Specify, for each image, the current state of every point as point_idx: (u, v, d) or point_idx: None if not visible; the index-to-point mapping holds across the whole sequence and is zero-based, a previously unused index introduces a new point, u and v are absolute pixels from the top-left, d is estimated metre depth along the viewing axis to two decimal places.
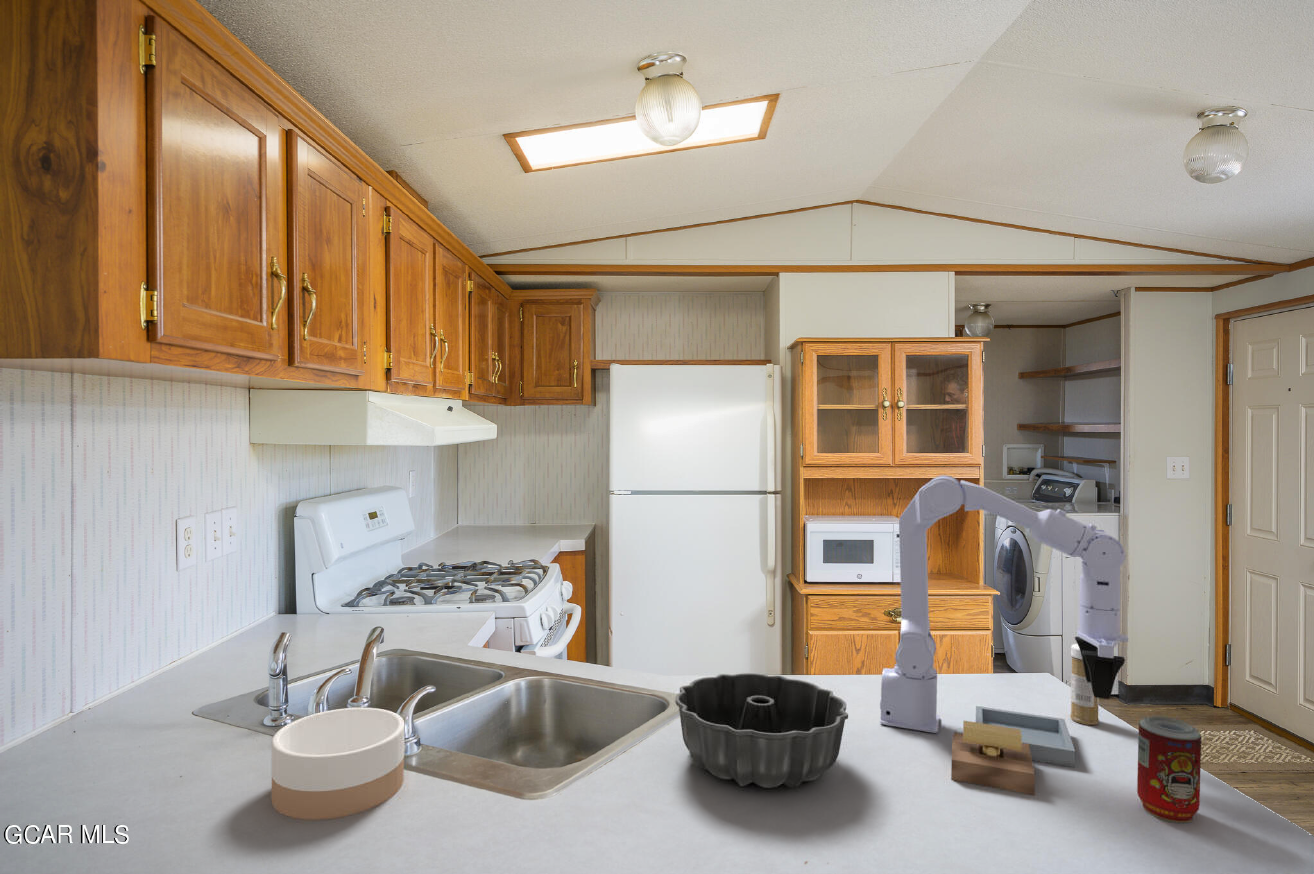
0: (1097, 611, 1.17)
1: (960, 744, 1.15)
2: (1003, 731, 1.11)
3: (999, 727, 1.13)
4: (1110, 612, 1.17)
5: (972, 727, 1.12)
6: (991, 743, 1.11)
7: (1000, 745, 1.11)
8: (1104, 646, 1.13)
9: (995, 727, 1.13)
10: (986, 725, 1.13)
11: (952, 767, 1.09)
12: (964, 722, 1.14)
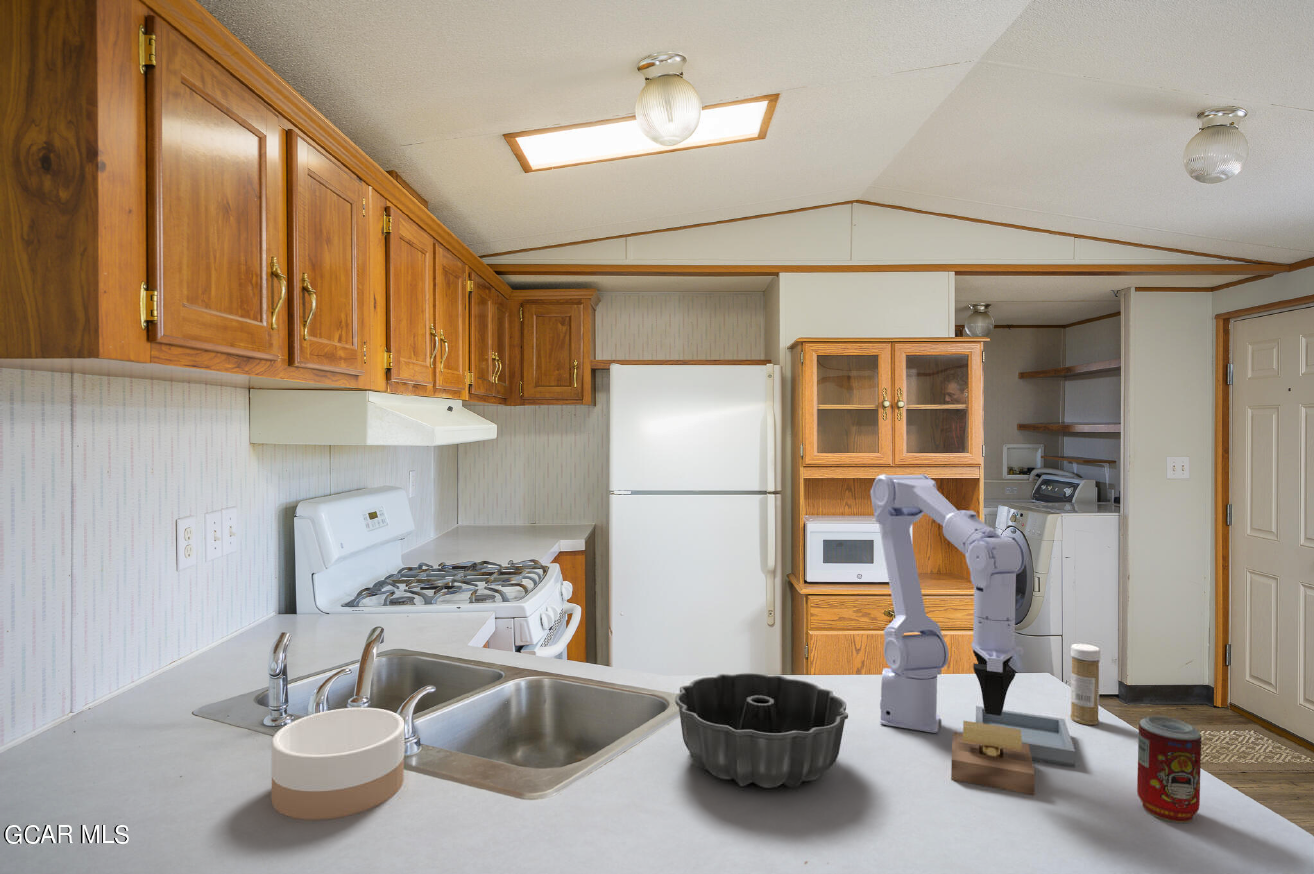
0: (989, 621, 1.10)
1: (960, 744, 1.15)
2: (1003, 731, 1.11)
3: (999, 727, 1.13)
4: (1003, 623, 1.09)
5: (972, 727, 1.12)
6: (991, 743, 1.11)
7: (1000, 745, 1.11)
8: (992, 659, 1.06)
9: (995, 727, 1.13)
10: (986, 725, 1.13)
11: (952, 767, 1.09)
12: (964, 722, 1.14)
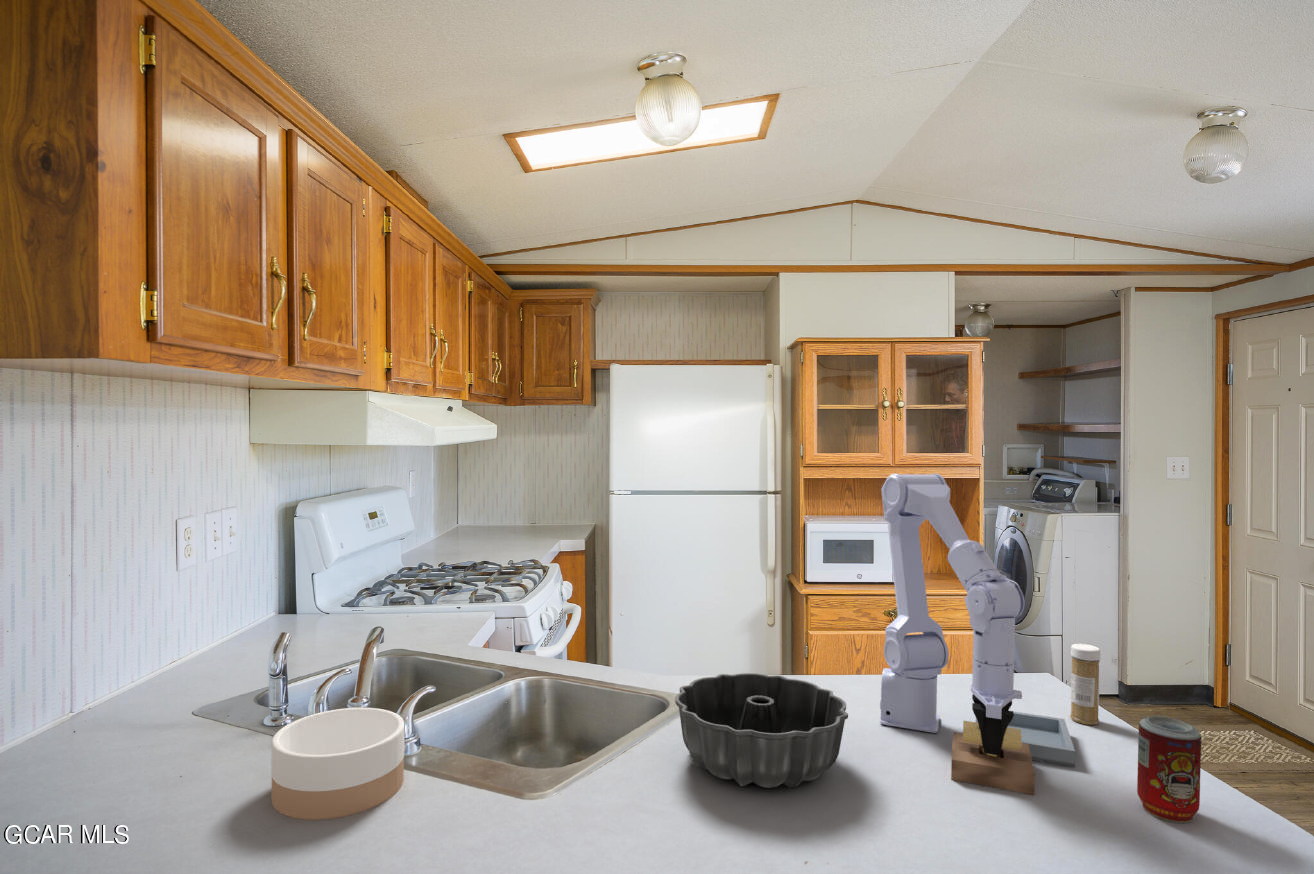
0: (988, 666, 1.10)
1: (960, 744, 1.15)
2: None
3: None
4: (1002, 667, 1.09)
5: (972, 727, 1.12)
6: None
7: None
8: (991, 706, 1.06)
9: None
10: None
11: (952, 767, 1.09)
12: (964, 722, 1.14)
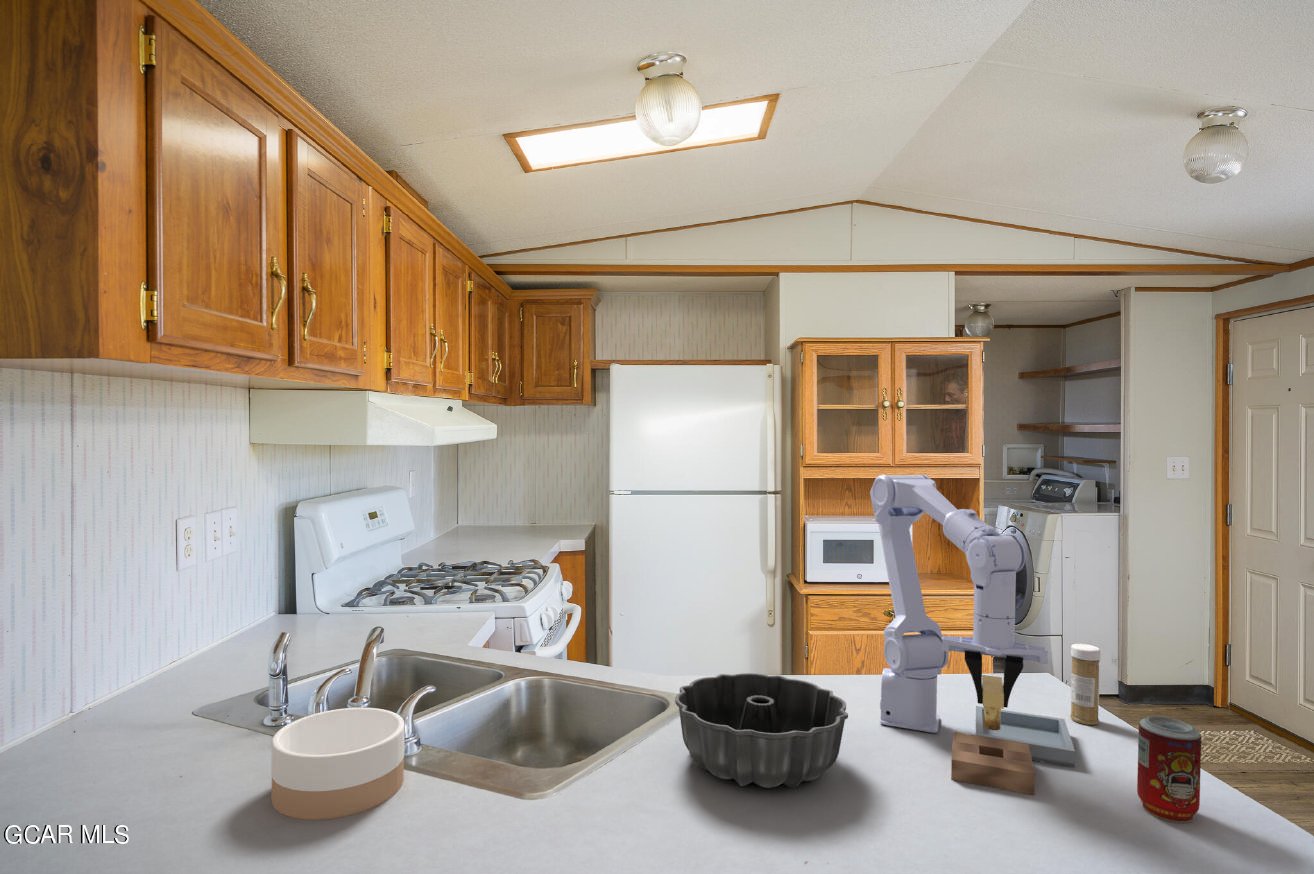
0: (974, 613, 1.14)
1: (960, 744, 1.15)
2: (988, 686, 1.11)
3: (998, 687, 1.11)
4: (975, 616, 1.12)
5: (985, 677, 1.15)
6: None
7: None
8: (942, 638, 1.15)
9: (996, 685, 1.11)
10: (997, 683, 1.12)
11: (952, 767, 1.09)
12: None
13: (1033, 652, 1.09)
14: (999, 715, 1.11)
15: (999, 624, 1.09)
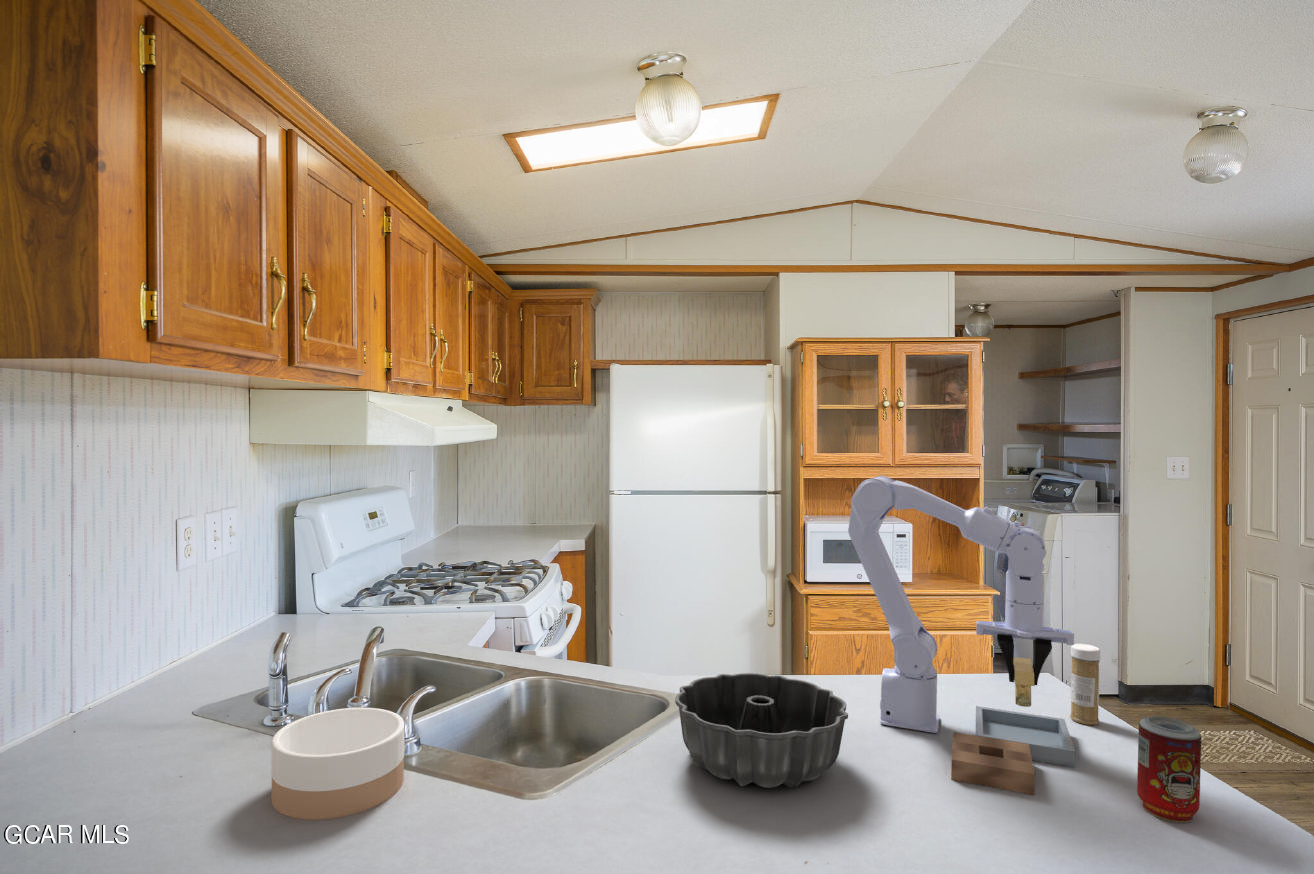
0: None
1: (960, 744, 1.15)
2: (1019, 667, 1.22)
3: (1028, 667, 1.22)
4: (1007, 602, 1.23)
5: (1015, 659, 1.26)
6: None
7: None
8: None
9: (1026, 665, 1.22)
10: (1027, 663, 1.23)
11: (952, 767, 1.09)
12: (1025, 658, 1.26)
13: (1061, 635, 1.20)
14: (1030, 693, 1.22)
15: (1030, 609, 1.20)
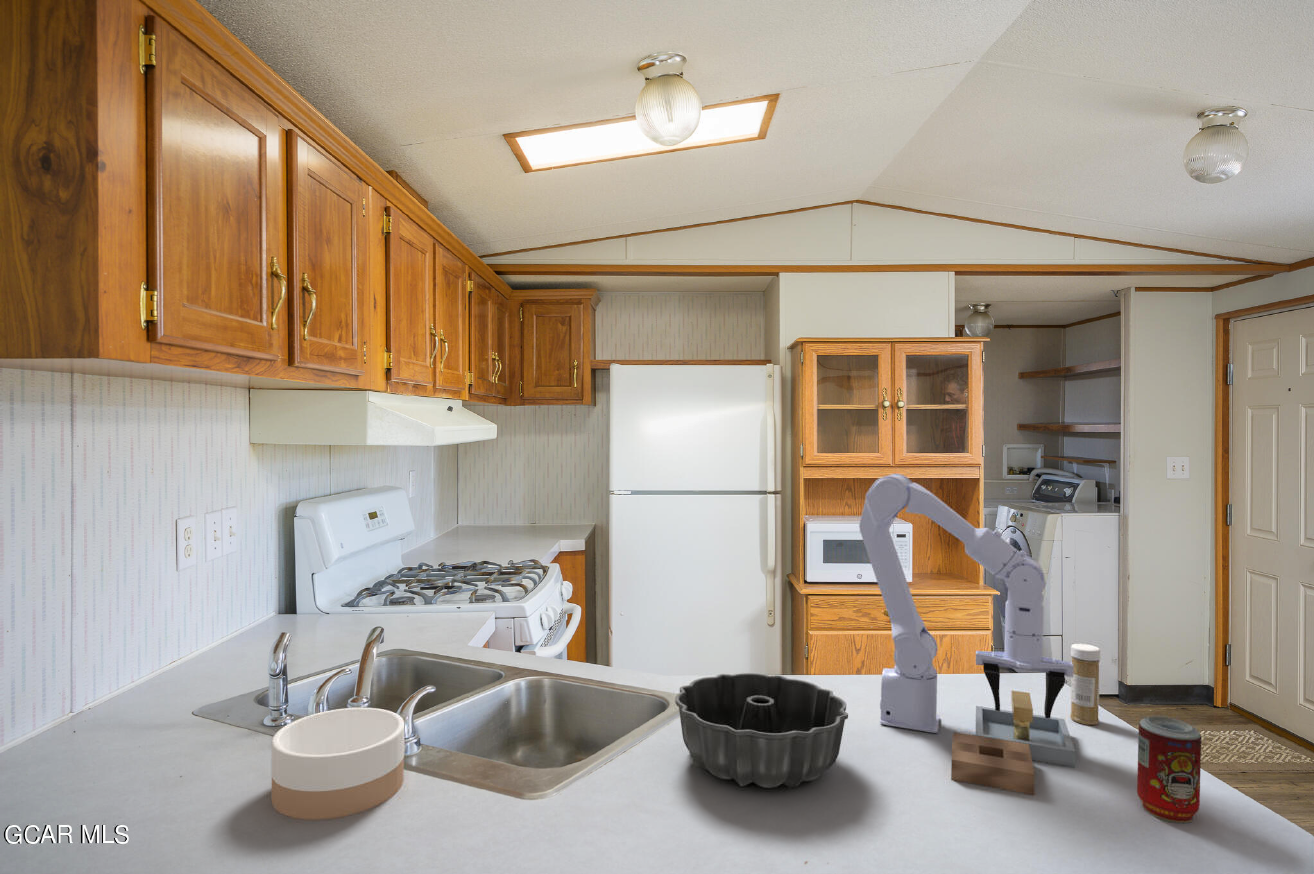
0: (1005, 630, 1.25)
1: (960, 744, 1.15)
2: (1018, 702, 1.22)
3: (1027, 702, 1.22)
4: (1007, 633, 1.23)
5: (1014, 693, 1.26)
6: (1012, 708, 1.24)
7: None
8: None
9: (1025, 701, 1.22)
10: (1026, 698, 1.23)
11: (952, 767, 1.09)
12: (1024, 692, 1.26)
13: (1060, 666, 1.20)
14: (1028, 728, 1.22)
15: (1029, 641, 1.20)
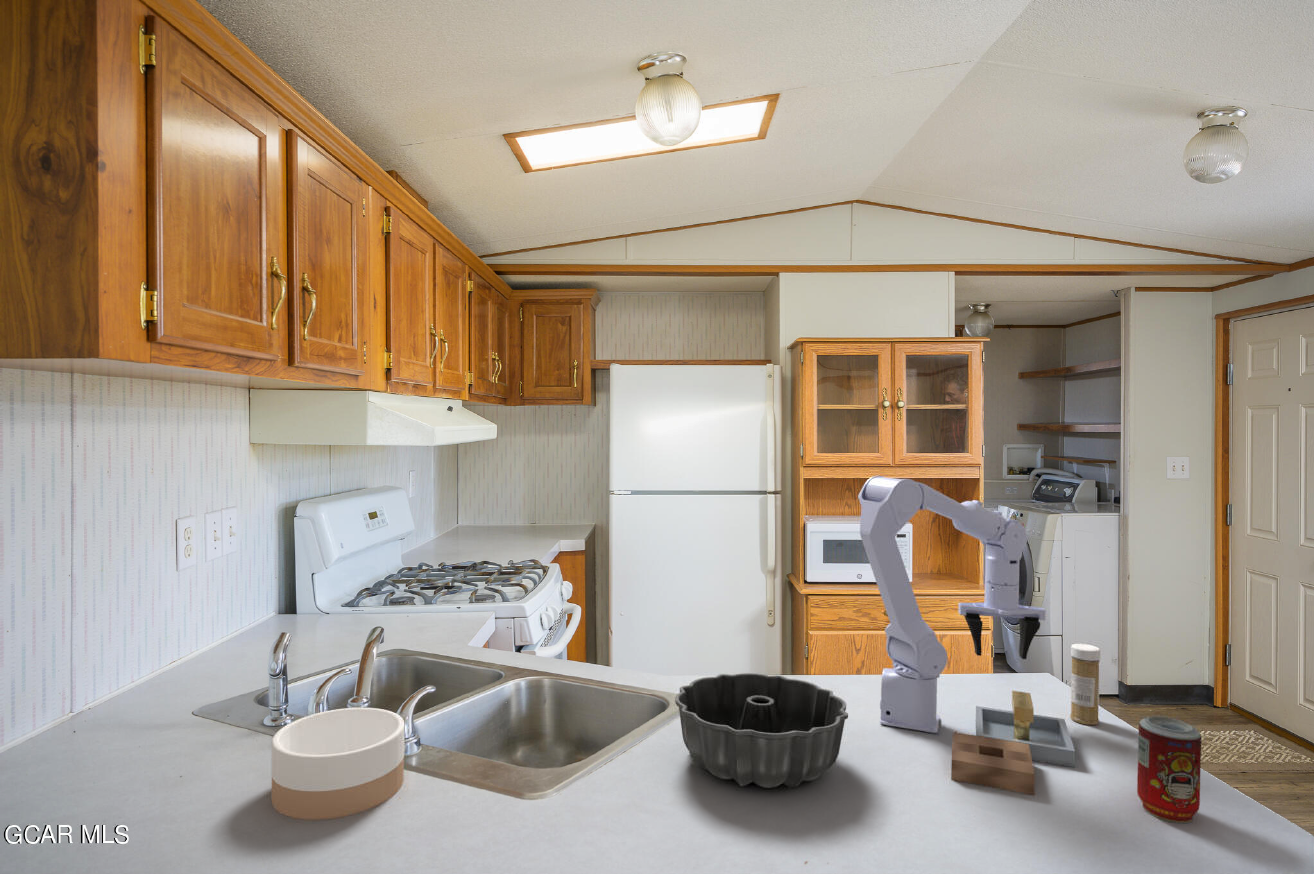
0: None
1: (960, 744, 1.15)
2: (1019, 702, 1.22)
3: (1028, 702, 1.22)
4: (988, 584, 1.36)
5: (1015, 693, 1.26)
6: None
7: (1013, 711, 1.23)
8: (959, 604, 1.38)
9: (1026, 701, 1.22)
10: (1026, 699, 1.23)
11: (952, 767, 1.09)
12: (1024, 692, 1.26)
13: (1034, 611, 1.34)
14: (1028, 728, 1.22)
15: (1009, 590, 1.33)
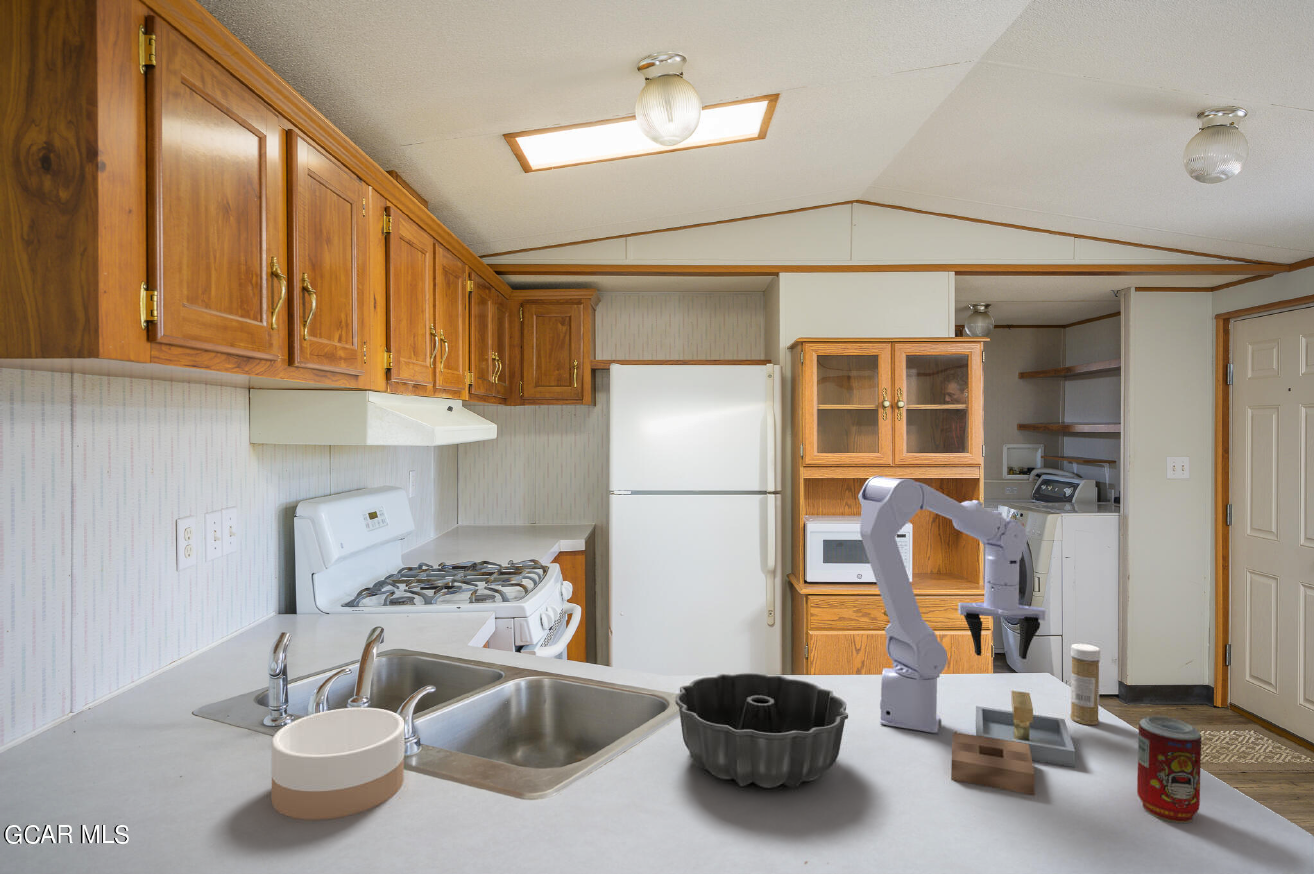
0: None
1: (960, 744, 1.15)
2: (1018, 702, 1.22)
3: (1027, 702, 1.22)
4: (988, 584, 1.36)
5: (1014, 693, 1.26)
6: (1012, 708, 1.24)
7: None
8: (958, 604, 1.38)
9: (1025, 701, 1.22)
10: (1026, 698, 1.24)
11: (952, 767, 1.09)
12: (1024, 692, 1.26)
13: (1034, 611, 1.34)
14: (1028, 728, 1.22)
15: (1009, 590, 1.33)
